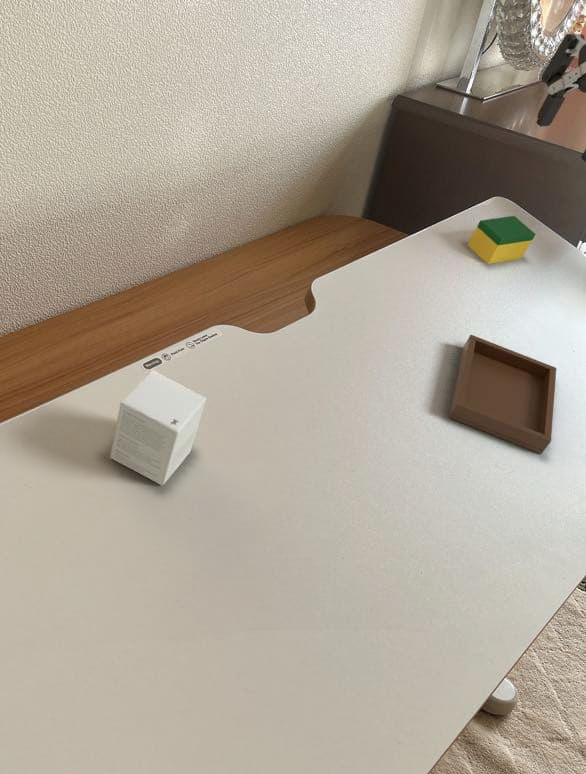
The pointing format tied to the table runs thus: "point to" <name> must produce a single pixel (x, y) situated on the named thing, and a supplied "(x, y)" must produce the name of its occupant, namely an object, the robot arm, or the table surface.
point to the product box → (156, 427)
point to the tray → (504, 394)
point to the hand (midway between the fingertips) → (564, 142)
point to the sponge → (501, 239)
